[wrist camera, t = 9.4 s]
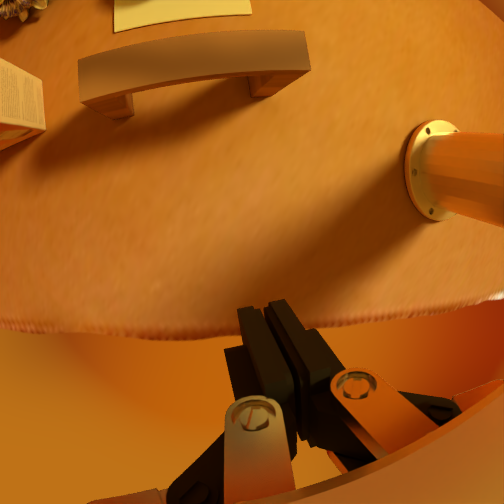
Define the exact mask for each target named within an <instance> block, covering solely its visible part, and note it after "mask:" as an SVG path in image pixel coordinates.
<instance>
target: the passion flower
mask: <svg viewBox="0 0 504 504" xmlns="http://www.w3.org/2000/svg"><path fill="white" fill-rule="evenodd" d="M47 5H48V0H0V17H1V16H3V18H4V19H5V20H7V19H8V18H11V17H13V16H14V17H15V16H17V15H18V17H19V19H20V20H21V22H24V21H25V20H26V19H27V18H28V15H29V11H30V9H29V8H31V6H33V7H34V8H36V9H41V10H43V9H46V7H47Z"/></svg>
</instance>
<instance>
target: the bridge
mask: <svg viewBox="0 0 504 504" xmlns="http://www.w3.org/2000/svg"><path fill="white" fill-rule="evenodd" d="M309 71H311V66H310V60H309V55H308V49H307V44H306V38H305V33H304V31H295V30H240V31H223V32H211V33H201V34H192V35H184V36H177V37H171V38H164V39H159V40H153V41H148V42H143V43H138V44H134V45H129V46H125V47H121V48H117V49H113V50H109V51H106V52H102V53H98V54H95V55H92V56H88V57H85V58H82V59H79V60H78V79H79V97H80V103H82V104H84V105H86V106H88V107H90V108H92V109H93V110H95V111H97V112H99V113H101V114H103V115H104V116H106V117H108V118H110V119H112V120H116V119H120V118H124V117H128V116H133V115H134V109H133V99H132V93H135V92H139V91H144V90H149V89H154V88H159V87H165V86H170V85H176V84H182V83H189V82H196V81H203V80H212V79H221V78H231V77H243V76H248V81H249V88H250V95H251V97H263V96H273V95H274V94H276V93H277V92H278V91H280V90H281V89H283V88H284V87H286V86H287V85H289V84H290V83H292V82H293V81H295V80H296V79H298V78H300V77H301V76H303V75H304V74H306V73H307V72H309Z"/></svg>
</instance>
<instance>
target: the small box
mask: <svg viewBox="0 0 504 504" xmlns="http://www.w3.org/2000/svg"><path fill="white" fill-rule="evenodd" d="M44 131H46V126H45V116H44V104H43V89H42V80H40V79H39V78H37V77H35V76H33V75H31V74H29V73H28V72H26V71H24V70H22V69H20V68H18V67H17V66H15V65H13V64H11V63H9V62H7V61H5V60H3V59H1V58H0V151H1V150H3V149H5V148H7V147H9V146H11V145H14V144H16V143H18V142H21V141H23V140H25V139H27V138H30V137H32V136H34V135H37V134H39V133H42V132H44Z"/></svg>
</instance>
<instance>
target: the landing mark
mask: <svg viewBox="0 0 504 504" xmlns="http://www.w3.org/2000/svg"><path fill="white" fill-rule="evenodd" d="M229 15H252V10H251V5H250V0H114V32H115V33H116V32H120V31H124V30H129V29H133V28H138V27H143V26H148V25H153V24H158V23H164V22H170V21H177V20H185V19H193V18H202V17H214V16H229Z"/></svg>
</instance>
